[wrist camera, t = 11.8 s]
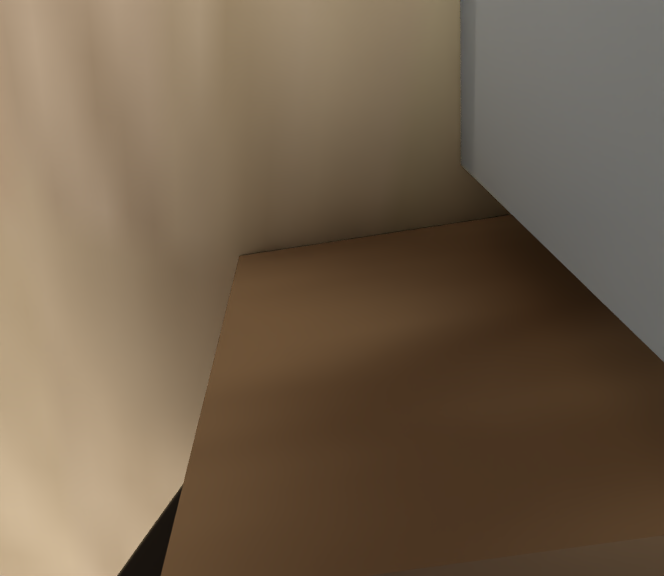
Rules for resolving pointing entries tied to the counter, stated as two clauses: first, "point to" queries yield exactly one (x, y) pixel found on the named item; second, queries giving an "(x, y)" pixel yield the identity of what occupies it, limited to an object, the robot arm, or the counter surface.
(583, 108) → the tote
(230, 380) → the walnut cube
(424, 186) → the counter surface
